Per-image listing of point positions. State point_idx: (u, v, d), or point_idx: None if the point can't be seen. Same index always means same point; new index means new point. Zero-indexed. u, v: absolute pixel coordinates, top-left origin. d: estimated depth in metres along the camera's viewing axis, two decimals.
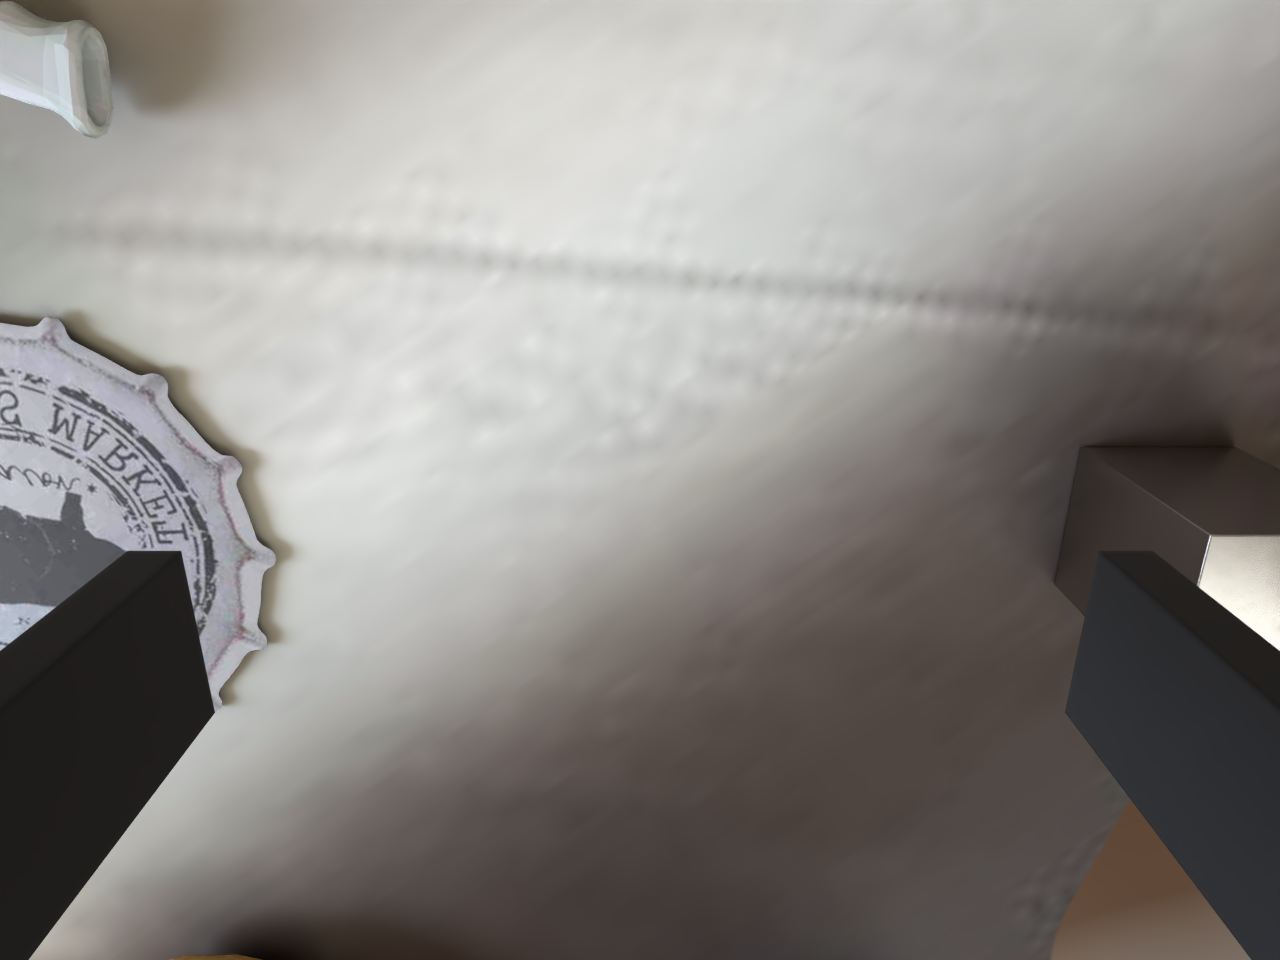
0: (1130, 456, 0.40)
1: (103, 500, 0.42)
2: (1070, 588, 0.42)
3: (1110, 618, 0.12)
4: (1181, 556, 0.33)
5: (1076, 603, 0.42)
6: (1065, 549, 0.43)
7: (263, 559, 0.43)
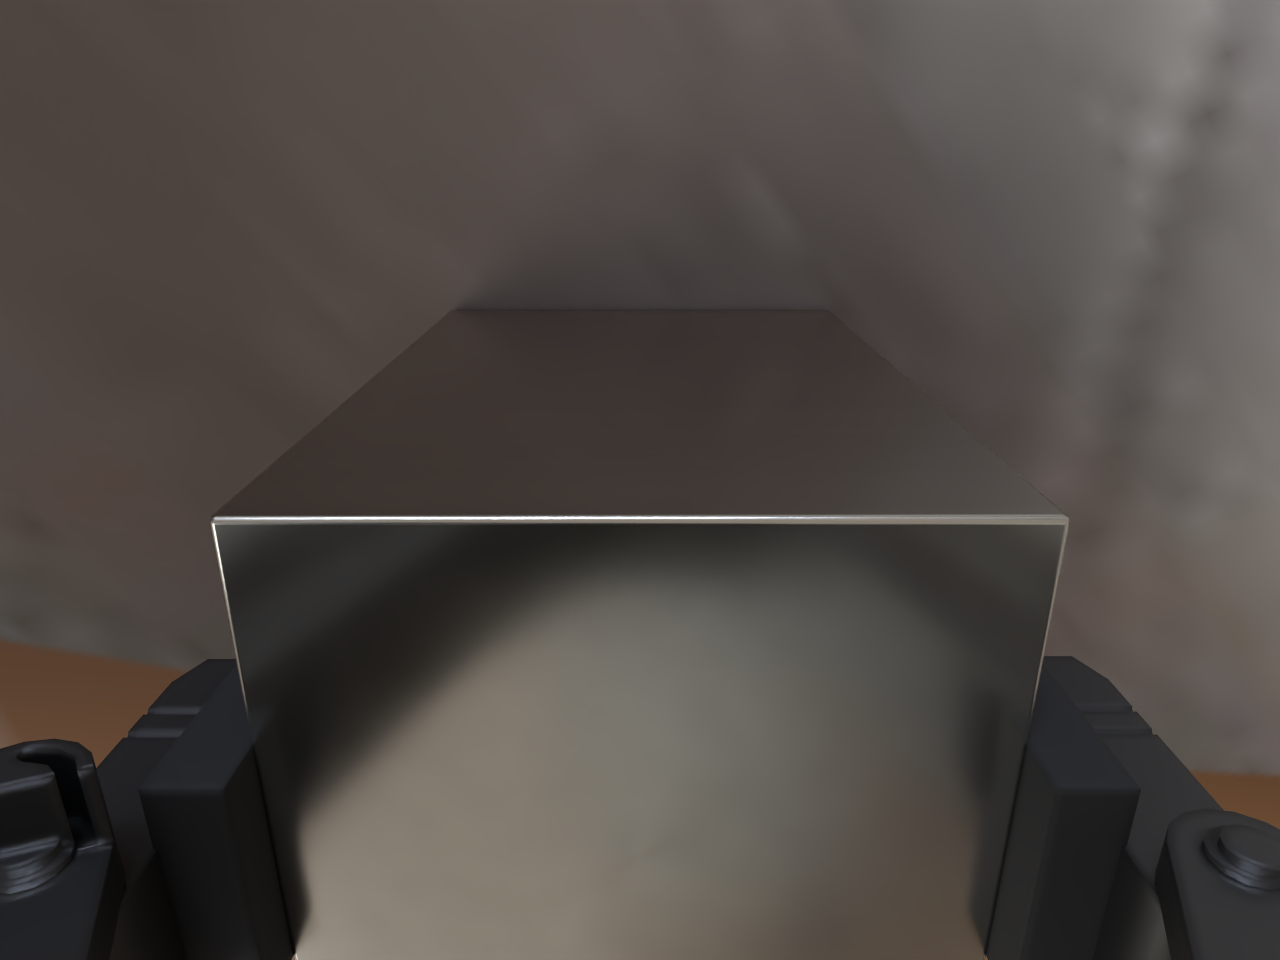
0: None
1: None
2: (466, 325, 0.15)
3: None
4: (865, 465, 0.09)
5: (433, 333, 0.15)
6: (559, 314, 0.16)
7: None
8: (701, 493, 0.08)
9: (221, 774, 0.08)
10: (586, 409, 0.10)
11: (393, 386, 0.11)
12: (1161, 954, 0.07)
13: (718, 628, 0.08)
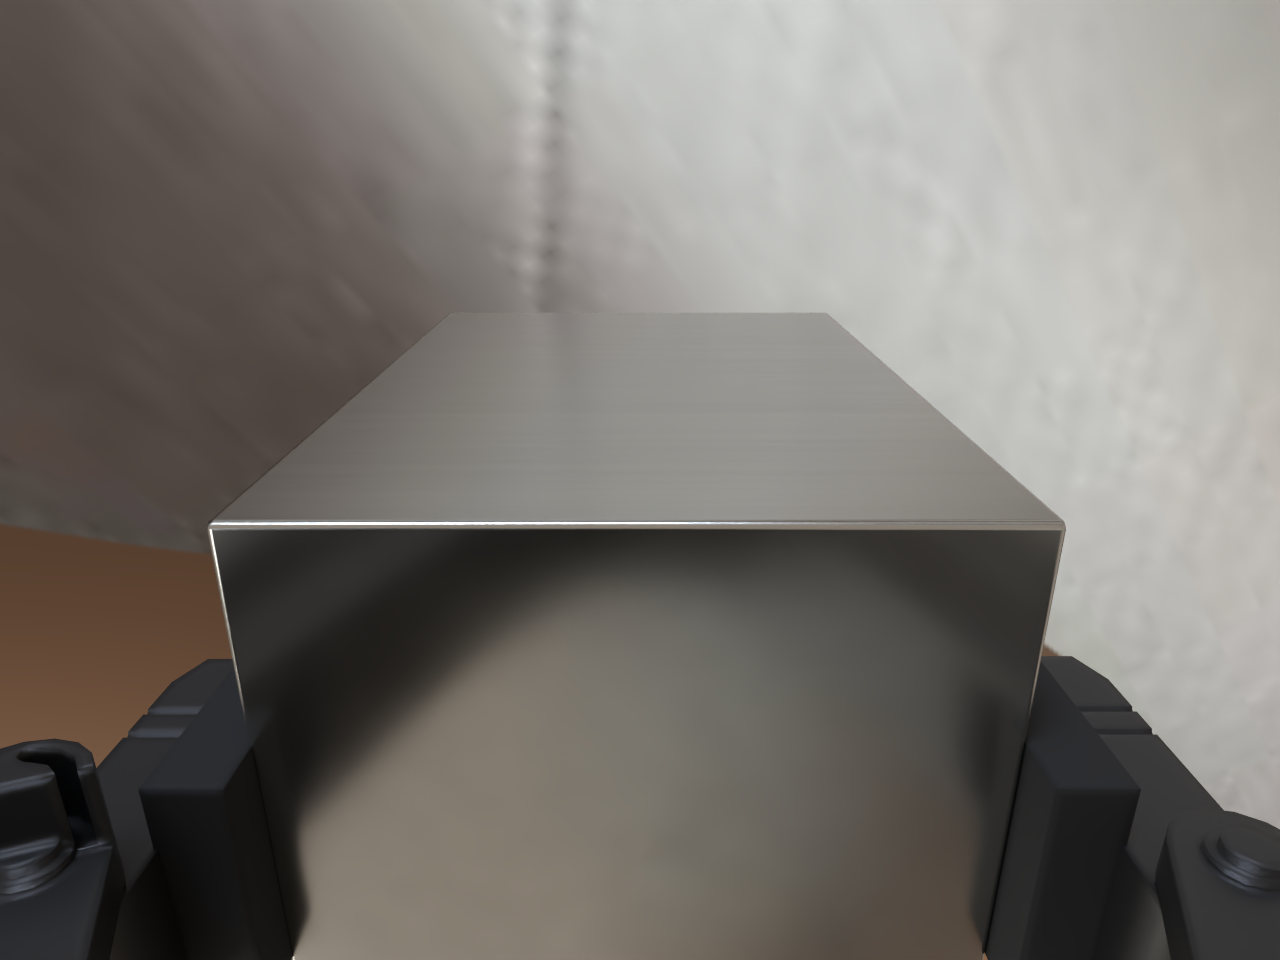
0: None
1: None
2: (464, 328, 0.15)
3: None
4: (861, 470, 0.09)
5: (432, 336, 0.15)
6: (558, 317, 0.16)
7: None
8: (698, 498, 0.08)
9: (221, 774, 0.08)
10: (583, 413, 0.10)
11: (391, 390, 0.11)
12: (1161, 954, 0.07)
13: (716, 633, 0.08)
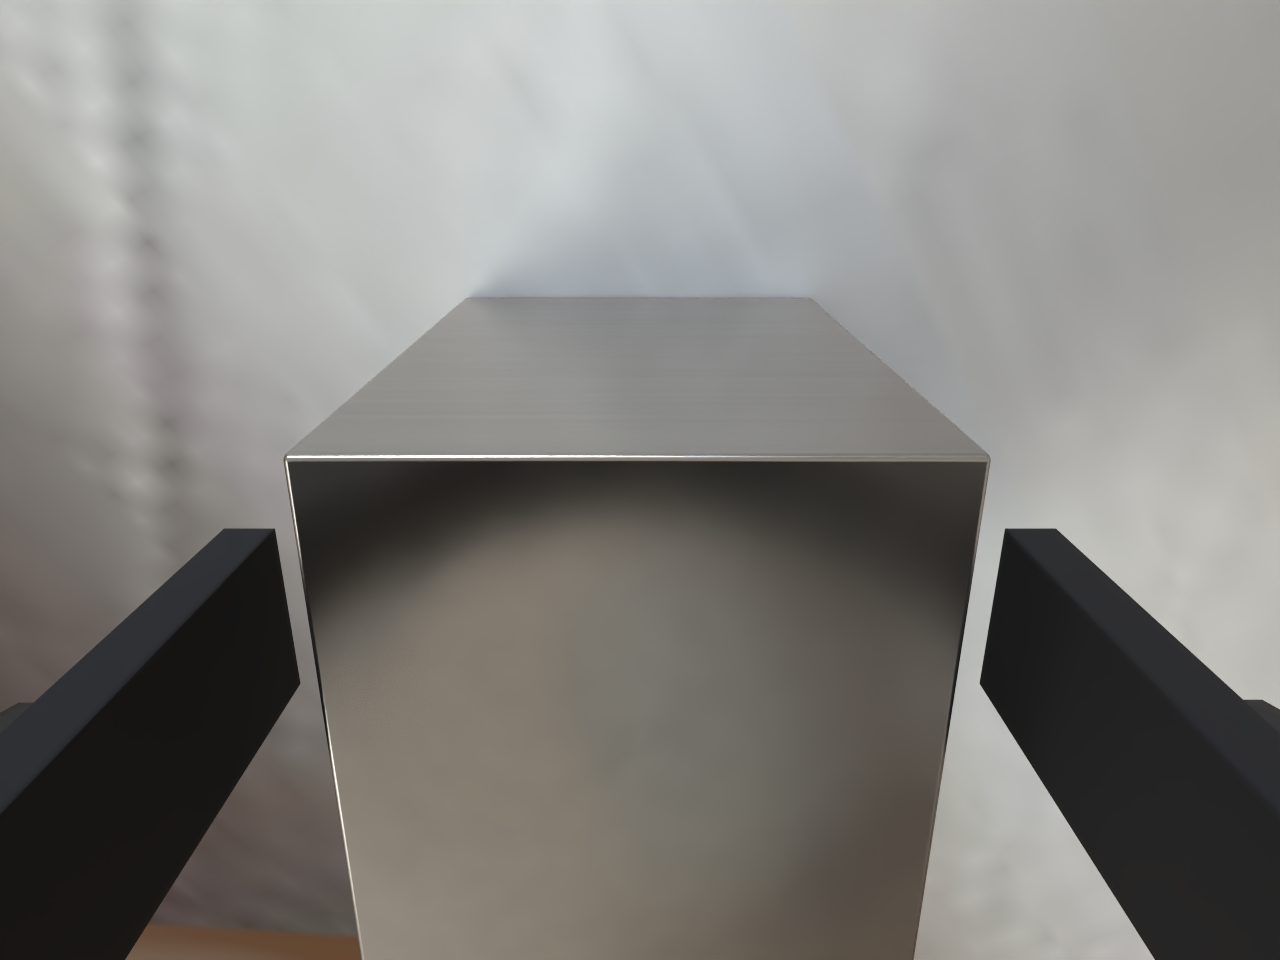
0: None
1: None
2: (480, 310, 0.17)
3: (1013, 592, 0.12)
4: (826, 419, 0.10)
5: (451, 317, 0.16)
6: (565, 301, 0.18)
7: None
8: (688, 438, 0.09)
9: None
10: (591, 377, 0.12)
11: (421, 359, 0.13)
12: None
13: (703, 550, 0.09)
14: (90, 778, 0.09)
